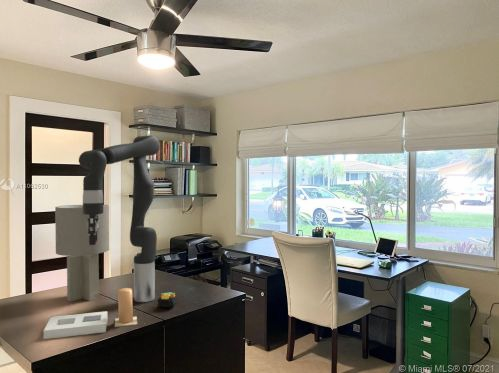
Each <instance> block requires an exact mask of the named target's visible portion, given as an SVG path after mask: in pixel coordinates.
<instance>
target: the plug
mask: <svg viewBox="0 0 499 373" xmlns="http://www.w3.org/2000/svg"><path fill="white" fill-rule="evenodd" d="M117 304H118V309H117V310H118V318H119V323H129V322H132V321H133V317H134V314H133V313H134V309H133V288H131V287H124V288H120V289H118V290H117Z"/></svg>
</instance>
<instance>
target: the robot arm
mask: <svg viewBox="0 0 499 373" xmlns="http://www.w3.org/2000/svg"><path fill="white" fill-rule="evenodd" d="M160 147H161V146H160V140H159V139H158V138H157V136H154V135H140V136H137V137H135V138H134V139H133V142H129V143H122V144H115V145H111V146H107V147H103V148H99V149H97V148H96V149H91V150H90V149H89V150H86V151H83V152H82V153H81V154H80V155H79V156H78V163H79V165H80V167H82V168H84V169H85V170H89V173H88V174H87V175H85V176H83V180H82V188H83V189H82V190H83V191H82V205H83V214H86V215H89V218H88V220H87V223H88V234H89V244H90V245H95V244H96V241H97V232H98V227H99V218H98V215H97V214H102V213H103V205H104V189H103V185H104V184H103V180H104V175H105V173H106V168H107V165H112V164H115V163H119V162H120V163H121V162H123V161H127V160H129V159H132V161H133V162H132V163H133V185H132V186H133V187H132V214H131V221H130V230H129V241H130V244H131V245H132V246H134V247H137V248H141V250H140V253H139V254H136V255H134V257H133V301H134V302H137V303H147V302H152V301H154V300H155V298H156V297H155V296H156V292H155V291H156V290H155V289H156V288H155V287H156V283H155V282H156V281H155V280H156V271H155V266H156V264H155V263H156V262H155V261H156V260H155V259H156V257H157V256H156V254H157V246H158V245H157V242H158V241H157V240H158V235H157V231H156V230H155V228H153V227H149V226H148V227H147V226H145V220H146V215H147V212H148V210H149V208H150V207H151V205H152V203H153V202H154V201H153V200H154V194H155V193H154V192H155V191H154V190H155V185H154V181H153V179H152V177H151V175H150V173H149V170H148V168H147V156H149V157H150V156H155V155H157V153H158V152H159V151H160Z"/></svg>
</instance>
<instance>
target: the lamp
mask: <svg viewBox="0 0 499 373" xmlns="http://www.w3.org/2000/svg"><path fill="white" fill-rule="evenodd" d="M54 208H55V214H54V216H55V219H54V220H55V226H54V227H55V254H56V255H58V256H64V257H66V277H67V278H66V282H67V283H66V287H67V288H66V290H67V293H66V294H67V295H66V297H67V298H66V299H67V300H66V301H67V302H70V303H71V302H74V301H77V300H82V299H83V300H85V301H89V302H91V301H94V300H95V296H98V295H100V283H99V282H100V278H99V277H100V275H99V274H100V272H99V269H100V265H99V259H100V258H99V254H103V253H107V252H108V251H110V206H109V205H108V204H103V213H102V214H97V215H98V218H99V227H98V232H97V241H96V244H95V245H90V244H89V234H88V223H87V220H88V218H89V215H86V214H83V204H69V205H59V206H55V207H54Z"/></svg>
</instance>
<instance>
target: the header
mask: <svg viewBox="0 0 499 373" xmlns="http://www.w3.org/2000/svg"><path fill="white" fill-rule="evenodd" d="M107 324H108V311H105V310H104V311H96V312H88V313H87V312H85V313H77V314H69V315H68V314H67V315H57V316H51V317H50V318H49V320H48V322H47V324H46V326H45V327H44V328H43V340H49V339H59V338H66V337H74V336H83V335H84V336H85V335H94V334H101V333H106V332H107Z"/></svg>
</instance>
